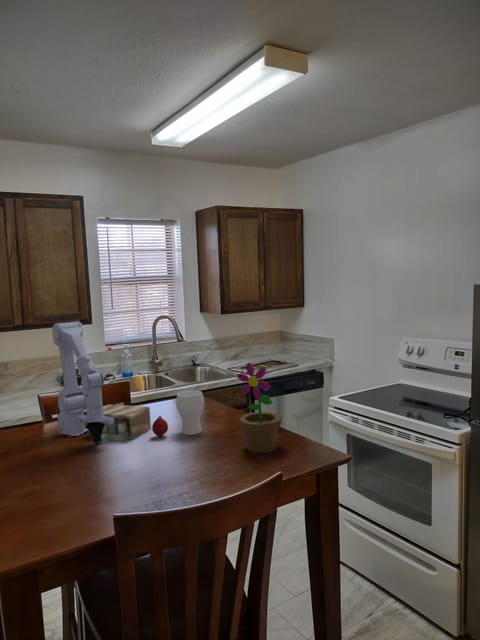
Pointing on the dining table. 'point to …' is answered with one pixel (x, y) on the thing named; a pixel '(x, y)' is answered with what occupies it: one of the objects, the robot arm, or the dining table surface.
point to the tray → (121, 437)
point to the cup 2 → (190, 410)
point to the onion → (160, 427)
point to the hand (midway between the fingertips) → (97, 441)
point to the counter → (130, 417)
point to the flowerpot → (259, 415)
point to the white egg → (122, 428)
